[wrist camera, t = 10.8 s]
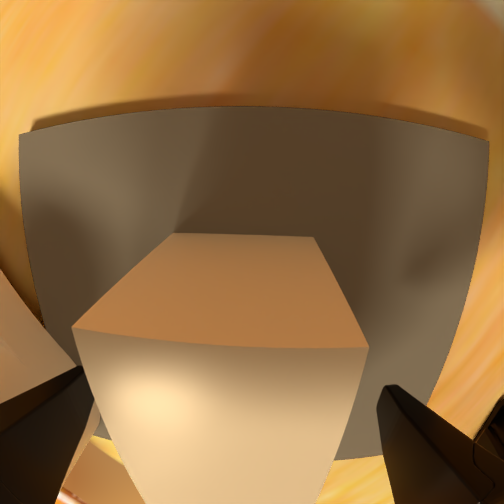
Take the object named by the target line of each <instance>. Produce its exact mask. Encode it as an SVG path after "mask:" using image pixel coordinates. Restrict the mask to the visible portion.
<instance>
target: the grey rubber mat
mask: <svg viewBox="0 0 504 504" xmlns="http://www.w3.org/2000/svg"><path fill="white" fill-rule="evenodd" d="M488 162H489V141H486V140H483V139H479V138H476V137H472V136H469V135H465V134H461V133H457V132H453V131H449V130H445V129H441V128H436V127H432V126H427V125H423V124H418V123H413V122H408V121H402V120H396V119H391V118H385V117H378V116H371V115H364V114H357V113H348V112H339V111H330V110H318V109H305V108H289V107H261V106H221V107H194V108H177V109H164V110H153V111H143V112H134V113H126V114H119V115H112V116H105V117H99V118H93V119H87V120H81V121H76V122H71V123H66V124H61V125H56V126H52V127H47V128H43V129H39V130H35V131H31V132H27V133H23V134H20V135H19V175H20V192H21V204H22V214H23V222H24V230H25V237H26V244H27V250H28V256H29V261H30V266H31V271H32V276H33V281H34V285H35V290H36V294H37V298H38V302H39V306H40V310H41V314H42V317H43V321H44V324H45V328H46V331H47V332H48V333H49V334H50V335H51V337H52V338H53V339H54V340H55V341H56V342H57V343H58V345H59V346H60V347H61V348H62V349H63V350H64V351H65V352H66V353H67V355H68V356H69V357H70V358H71V359H72V361H73V362H74V363H75V364H76V366H78V365H82V362H81V359H80V356H79V352H78V349H77V346H76V342H75V339H74V335H73V332H72V328H71V327H72V326H73V325H74V324H75V323H76V322H77V321H78V320H79V319H80V318H81V317H82V316H83V315H84V314H85V313H86V312H87V311H88V310H89V309H90V308H91V307H92V306H93V305H94V304H95V303H96V302H97V301H98V300H99V299H100V298H101V297H103V296H104V295H105V294H106V293H107V292H108V291H109V290H110V289H111V288H112V287H113V286H114V285H115V284H116V283H117V282H118V281H120V280H121V279H122V278H123V277H124V276H125V275H126V274H127V273H128V272H129V271H130V270H131V269H133V268H134V267H135V266H136V265H137V264H138V263H139V262H140V261H141V260H143V259H144V258H145V257H146V256H147V255H148V254H149V253H150V252H151V251H153V250H154V249H155V248H156V247H157V246H158V245H159V244H161V243H162V242H163V241H164V240H165V239H166V238H167V237H169V236H170V235H171V234H172V233H206V234H242V235H273V236H301V237H314V239H315V241H316V243H317V245H318V246H319V248H320V250H321V252H322V254H323V256H324V258H325V260H326V261H327V263H328V265H329V267H330V269H331V271H332V273H333V275H334V277H335V279H336V281H337V282H338V284H339V286H340V288H341V290H342V292H343V294H344V296H345V298H346V300H347V302H348V304H349V306H350V308H351V310H352V312H353V314H354V316H355V318H356V320H357V322H358V324H359V326H360V328H361V331H362V333H363V335H364V337H365V339H366V341H367V343H368V345H369V350H368V354H367V358H366V362H365V366H364V369H363V373H362V377H361V380H360V384H359V387H358V390H357V394H356V397H355V400H354V403H353V407H352V410H351V413H350V416H349V419H348V422H347V425H346V428H345V431H344V434H343V436H342V439H341V442H340V445H339V447H338V450H337V453H336V455H335V458H334V460H345V459H355V458H363V457H371V456H378V455H383V452H382V447H381V439H380V432H379V425H378V419H377V412H376V406H377V402H378V399H379V397H380V394H381V391H382V388H383V387H384V386H385V385H391V384H397V385H399V386H400V387H401V388H403V389H404V390H405V391H407V392H408V393H409V394H411V395H412V396H413V397H415V398H416V399H417V400H419V401H420V402H421V403H423V404H424V405H427V403H428V400H429V398H430V396H431V394H432V392H433V390H434V387H435V385H436V383H437V380H438V378H439V376H440V373H441V371H442V368H443V366H444V363H445V361H446V358H447V356H448V353H449V350H450V348H451V345H452V342H453V339H454V336H455V333H456V330H457V327H458V324H459V321H460V318H461V315H462V311H463V308H464V304H465V301H466V297H467V294H468V290H469V286H470V282H471V278H472V274H473V270H474V265H475V260H476V256H477V251H478V245H479V240H480V234H481V228H482V222H483V215H484V207H485V199H486V189H487V178H488ZM82 366H83V365H82ZM93 435H94V436H98V437H101V438H105V439H108V440H112V439H111V437H110V435H109V433H108V430H107V428H106V426H105V423H104V421H103V419H102V416H101V414H100V422H99V425H98V427H97V428H96V430H95V432H94V433H93ZM334 460H333V461H334Z"/></svg>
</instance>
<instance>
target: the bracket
mask: <svg viewBox="0 0 504 504" xmlns="http://www.w3.org/2000/svg"><path fill="white" fill-rule="evenodd" d="M74 367H76V364H75V363H74V362H73V361H72V359H71V358H70V357H69V356H68V355H67V353H66V352H65V351H64V350H63V349H62V348H61V347H60V346H59V345H58V343H57V342H56V341H55V340H54V339H53V338H52V337H51V335H50V334H49V333H48V332H47V331H46V330H45V328H44V327H43V326H42V325H41V324H40V322H39V321H38V320H37V319H36V317H35V316H34V315H33V314H32V312H31V311H30V310H29V308H28V307H27V306H26V305H25V303H24V302H23V301H22V299H21V298H20V296H19V295H18V294H17V292H16V291H15V290H14V288H13V287H12V285H11V284H10V282H9V281H8V280H7V278H6V277H5V275H4V274H3V272H2V271H1V269H0V403H3V402H5V401H7V400H9V399H11V398H13V397H15V396H17V395H19V394H21V393H23V392H25V391H27V390H30V389H32V388H34V387H36V386H38V385H40V384H42V383H44V382H46V381H48V380H50V379H52V378H54V377H56V376H58V375H60V374H62V373H64V372H66V371H68V370H70V369H72V368H74ZM99 422H100V411H99V409H98V406H97V404H96V401H95V400H94V403H93V406H92V409H91V412H90V416H89V419H88V422H87V425H86V428H85V430H84V433H83V435H82V438H81V440H80V442H79V445H78V447H77V449H76V452H75V454H74V456H73V459H72V461H71V463H70V466H69V468H68V471H67V473H66V476H65V478H64V481H63V483H62V486H63V484H64V483H65V481H66V479H67V477H68V476H69V474H70V472H71V470H72V468H73V467H74V465H75V464H76V462H77V460H78V458H79V457H80V455H81V453H82V452H83V450H84V448H85V447H86V445H87V443H88V442H89V440H90V438H91V437H92V435H93V433H94V432H95V430H96V428H97V427H98V425H99ZM62 486H61V488H62ZM61 488H60V490H61Z"/></svg>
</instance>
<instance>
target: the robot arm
mask: <svg viewBox="0 0 504 504" xmlns="http://www.w3.org/2000/svg"><path fill="white" fill-rule="evenodd" d="M94 400H95V399H94V396H93V394H92V391H91V388H90V385H89V383H88V380H87V377H86V374H85V371H84V368H83V366H82V365H78V366H76V367H74V368H72V369H70V370H68V371H66V372H64V373H62V374H60V375H58V376H56V377H54V378H52V379H50V380H48V381H46V382H44V383H42V384H40V385H38V386H36V387H34V388H32V389H30V390H27V391H25V392H23V393H21V394H19V395H17V396H15V397H13V398H11V399H9V400H7V401H5V402H3V403H0V504H55V502H56V499H57V496H58V494H59V491H60V488H61V486H62V483H63V481H64V478H65V476H66V473H67V471H68V468H69V466H70V463H71V461H72V459H73V456H74V454H75V452H76V449H77V447H78V445H79V442H80V440H81V438H82V435H83V433H84V430H85V428H86V425H87V422H88V419H89V416H90V412H91V409H92V406H93V403H94ZM376 412H377V419H378V425H379V432H380V439H381V447H382V452H383V457H384V461H385V465H386V468H387V472H388V477H389V481H390V485H391V489H392V493H393V498H394V502H395V504H504V399H503V400H501V401H500V402H499V403H498V404H497V405H496V407H495V409H494V410H493V412H492V414H491V415H490V417H489V418H488V420H487V422H486V423H485V425H484V426H483V428H482V429H481V431H480V432H479V434H478V435H477V437H476V438H475V440H474V441H473V440H472V439H470V438H469V437H468V436H466V435H465V434H463V433H462V432H461V431H459V430H458V429H457V428H455V427H454V426H453V425H451V424H450V423H448V422H447V421H446V420H444V419H443V418H442V417H440V416H439V415H438V414H436V413H435V412H434V411H432V410H431V409H430V408H428V407H427V406H426V405H424V404H423V403H421V402H420V401H419V400H417V399H416V398H415V397H413V396H412V395H411V394H409V393H408V392H407V391H405V390H404V389H403V388H401V387H400V386H399V385H397V384H391V385H385V386H384V387H383V388H382V391H381V394H380V397H379V399H378V402H377V406H376Z"/></svg>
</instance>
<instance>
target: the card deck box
mask: <svg viewBox="0 0 504 504" xmlns="http://www.w3.org/2000/svg"><path fill="white" fill-rule="evenodd" d="M71 328H72V332H73V335H74V339H75V342H76V346H77V349H78V352H79V356H80V359H81V362H82V365H83V368H84V371H85V374H86V377H87V380H88V383H89V385H90V388H91V391H92V394H93V396H94V399H95V401H96V404H97V406H98V409H99V411H100V414H101V416H102V419H103V421H104V423H105V426H106V428H107V430H108V433H109V435H110V437H111V439H112V441H113V443H114V446H115V448H116V450H117V452H118V454H119V456H120V458H121V460H122V462H123V464H124V466H125V468H126V469H127V471H128V473H129V475H130V477H131V479H132V481H133V483H134V484H135V486H136V488H137V490H138V491H139V493H140V495H141V496H142V498H143V500H144V501H145V503H146V504H315V503H316V501H317V498H318V496H319V494H320V492H321V489H322V487H323V485H324V483H325V480H326V478H327V475H328V473H329V470H330V468H331V466H332V463H333V460H334V458H335V455H336V453H337V450H338V447H339V445H340V442H341V439H342V436H343V434H344V431H345V428H346V425H347V422H348V419H349V416H350V413H351V410H352V407H353V403H354V400H355V397H356V394H357V390H358V387H359V384H360V380H361V377H362V373H363V369H364V366H365V362H366V358H367V354H368V350H369V345H368V343H367V341H366V339H365V337H364V335H363V333H362V331H361V328H360V326H359V324H358V322H357V320H356V318H355V316H354V314H353V312H352V310H351V308H350V306H349V304H348V302H347V300H346V298H345V296H344V294H343V292H342V290H341V288H340V286H339V284H338V282H337V281H336V279H335V277H334V275H333V273H332V271H331V269H330V267H329V265H328V263H327V261H326V260H325V258H324V256H323V254H322V252H321V250H320V248H319V246H318V245H317V243H316V241H315V239H314V237H301V236H273V235H242V234H206V233H172V234H171V235H170V236H169V237H167V238H166V239H165V240H164V241H163V242H162V243H161V244H159V245H158V246H157V247H156V248H155V249H154V250H153V251H151V252H150V253H149V254H148V255H147V256H146V257H145V258H144V259H143V260H141V261H140V262H139V263H138V264H137V265H136V266H135V267H134V268H133V269H131V270H130V271H129V272H128V273H127V274H126V275H125V276H124V277H123V278H122V279H121V280H120V281H118V282H117V283H116V284H115V285H114V286H113V287H112V288H111V289H110V290H109V291H108V292H107V293H106V294H105V295H104V296H103V297H101V298H100V299H99V300H98V301H97V302H96V303H95V304H94V305H93V306H92V307H91V308H90V309H89V310H88V311H87V312H86V313H85V314H84V315H83V316H82V317H81V318H80V319H79V320H78V321H77V322H76V323H75V324H74V325H73V326H72V327H71Z"/></svg>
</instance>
